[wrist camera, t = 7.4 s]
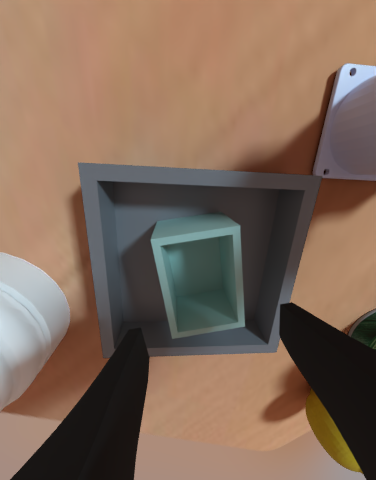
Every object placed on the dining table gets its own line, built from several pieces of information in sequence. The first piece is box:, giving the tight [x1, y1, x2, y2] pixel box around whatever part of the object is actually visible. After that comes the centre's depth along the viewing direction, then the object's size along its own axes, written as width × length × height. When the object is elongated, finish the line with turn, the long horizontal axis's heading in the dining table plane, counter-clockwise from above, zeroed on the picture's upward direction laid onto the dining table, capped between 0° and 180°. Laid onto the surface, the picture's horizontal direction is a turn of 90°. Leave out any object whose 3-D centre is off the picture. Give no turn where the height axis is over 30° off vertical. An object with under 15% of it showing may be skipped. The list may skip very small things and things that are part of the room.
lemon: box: [306, 389, 363, 474], centre depth 22 cm, size 6×6×8 cm
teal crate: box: [151, 212, 245, 339], centre depth 15 cm, size 6×8×5 cm
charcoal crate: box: [78, 163, 322, 358], centre depth 16 cm, size 16×16×4 cm
